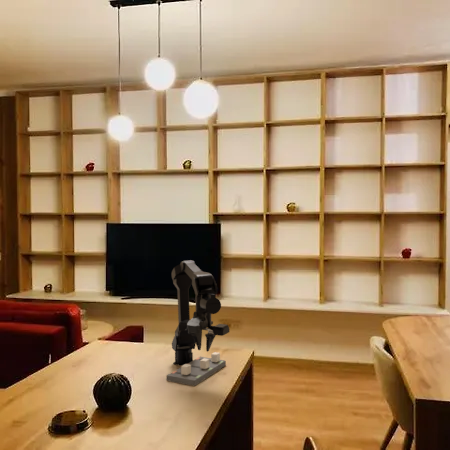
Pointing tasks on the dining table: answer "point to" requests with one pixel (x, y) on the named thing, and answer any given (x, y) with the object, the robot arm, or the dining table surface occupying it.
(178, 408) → the dining table surface
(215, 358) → the far switch
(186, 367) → the switch
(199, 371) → the breaker panel
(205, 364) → the middle switch
